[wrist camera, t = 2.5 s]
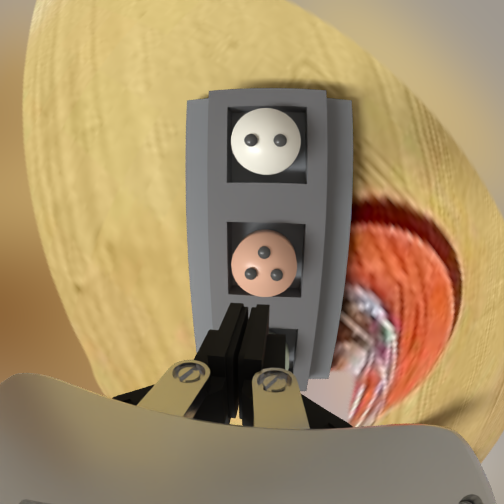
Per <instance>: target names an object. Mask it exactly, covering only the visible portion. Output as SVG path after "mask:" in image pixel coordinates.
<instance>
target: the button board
mask: <svg viewBox="0 0 504 504" xmlns="http://www.w3.org/2000/svg"><path fill="white" fill-rule="evenodd" d="M260 108H271V109H276V110H279V111H281V112H283V113H285V114H286V115H288V116H289V117H290V118H291V119H292V120H293V121H294V122H295V124H296V126H297V127H298V130H299V133H300V138H301V145H300V150H299V153H298V155H297V157H296V159H295V160H294V162H293V163H292V164H291V165H290V166H289V167H288V168H287V169H286V170H284V171H282V172H280V173H277V174H273V175H262V174H258V173H254V172H252V171H250V170H248V169H246V168H245V167H243V166H242V165H241V164H240V163H239V162H238V161H237V159H236V158H235V156H234V154H233V151H232V147H231V136H232V132H233V129H234V127H235V125H236V123H237V122H238V121H239V120H240V118H241V117H243V116H244V115H245V114H247V113H248V112H250V111H253V110H256V109H260ZM352 186H353V119H352V101H351V100H342V99H332V98H326V90H313V89H292V88H249V89H228V90H215V91H209V98H207V99H197V100H188V101H187V118H186V217H187V242H188V261H189V276H190V290H191V302H192V313H193V323H194V333H195V342H196V351H197V352H198V350H199V348H200V347H201V345H202V343H203V341H204V339H205V337H206V335H207V333H208V331H209V330H210V329H212V330H219V327H220V325H221V323H222V321H223V318H224V316H225V314H226V312H227V309H228V307H229V305H230V303H243V304H244V307H248V319H249V316H250V312H251V308H252V307H256V306H257V304H265V305H270V312H269V331H270V332H273V333H275V334H286V343H287V345H288V348H289V369H288V371H290V372H291V373H293V374H294V375H295V377H296V379H297V382H298V385H299V389H300V391H306V390H307V384H308V379H328V378H329V373H330V369H331V364H332V359H333V354H334V349H335V343H336V338H337V332H338V326H339V320H340V314H341V307H342V300H343V293H344V286H345V277H346V269H347V259H348V249H349V238H350V225H351V209H352ZM262 229H268V230H274V231H277V232H279V233H281V234H282V235H284V236H285V237H286V238H287V239H288V240H289V241H290V242H291V244H292V245H293V247H294V250H295V254H296V261H297V272H296V276H295V278H294V280H293V282H292V284H291V285H290V286H289V287H288V288H287V289H286V290H285V291H283V292H282V293H280V294H278V295H275V296H271V297H259V296H255V295H252V294H250V293H248V292H246V291H245V290H243V289H242V288H241V287H240V286H239V285H238V283H237V282H236V280H235V278H234V276H233V273H232V267H231V262H232V257H233V254H234V252H235V250H236V248H237V247H238V245H239V244H240V243H241V241H242V240H243V239H244V238H245V237H246V236H247V235H248V234H250V233H252V232H254V231H257V230H262Z"/></svg>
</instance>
